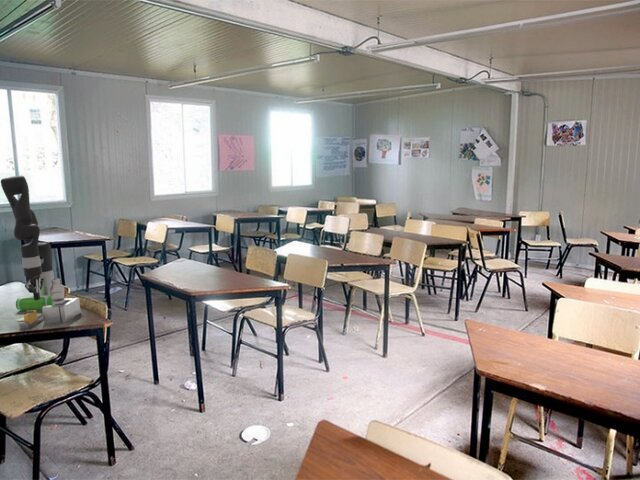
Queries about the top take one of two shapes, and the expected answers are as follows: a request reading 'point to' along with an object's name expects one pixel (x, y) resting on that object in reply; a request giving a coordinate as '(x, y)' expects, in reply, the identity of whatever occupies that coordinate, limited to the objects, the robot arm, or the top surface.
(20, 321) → the mat
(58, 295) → the plastic bottle
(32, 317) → the orange rounded block
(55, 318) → the small white box
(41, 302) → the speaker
